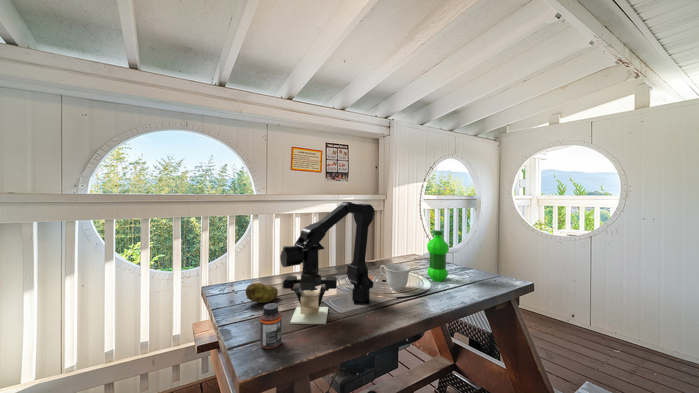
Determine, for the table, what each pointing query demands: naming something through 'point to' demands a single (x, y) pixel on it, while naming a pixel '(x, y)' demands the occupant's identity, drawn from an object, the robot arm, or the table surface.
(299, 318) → the mat
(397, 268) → the teacup
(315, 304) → the cube
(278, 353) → the table surface
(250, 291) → the potato
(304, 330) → the table surface
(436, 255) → the plastic bottle
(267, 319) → the supplement bottle
